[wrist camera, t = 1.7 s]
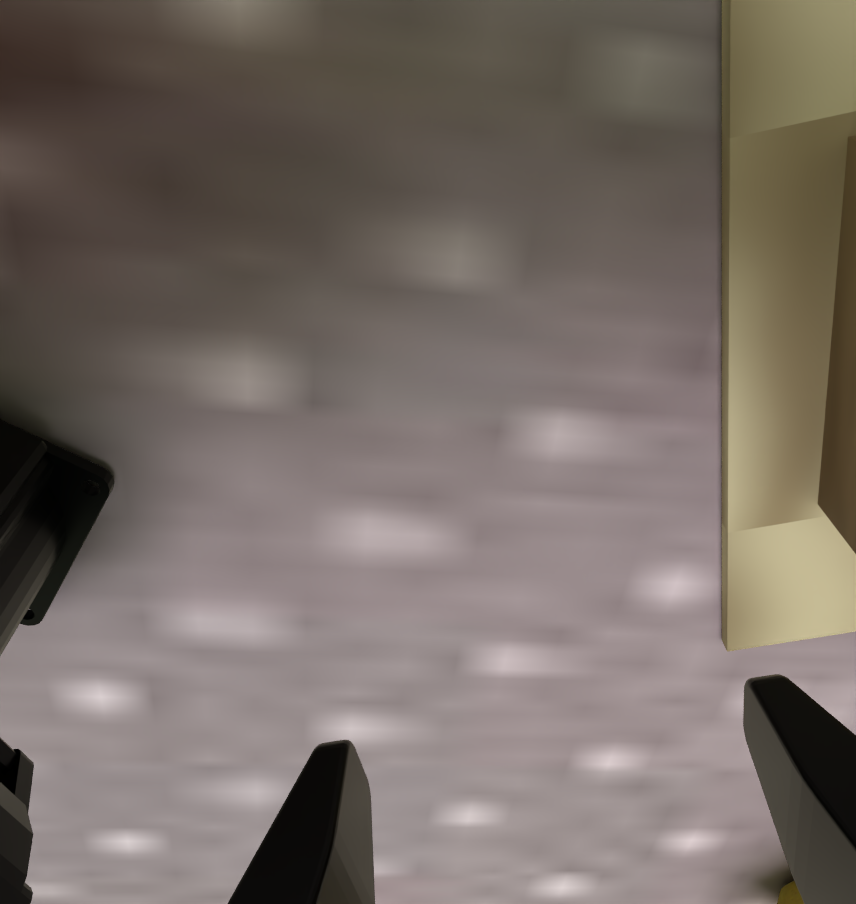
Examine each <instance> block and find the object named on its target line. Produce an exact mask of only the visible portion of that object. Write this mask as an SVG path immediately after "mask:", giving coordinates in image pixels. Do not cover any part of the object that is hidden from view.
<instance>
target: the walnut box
mask: <svg viewBox="0 0 856 904" xmlns="http://www.w3.org/2000/svg"><path fill="white" fill-rule="evenodd" d="M818 505H819V507H820V508H821V509H822V511H823V512H824V513H825V515H826V516H827V517H828V518H829V520H830V521H831V522H832V524H833V525H834V526H835V528H836V529H837V530H838V532H839V533H840V534H841V536H842V537H843V538H844V539H845V541H846V542H847V543H848V545H849V546H850V547H851V549H852V550H853V551H854V553H855V554H856V135H855V136H850V137H848V143H847V155H846V167H845V179H844V192H843V204H842V216H841V228H840V240H839V252H838V264H837V276H836V288H835V300H834V312H833V324H832V336H831V348H830V360H829V372H828V384H827V396H826V408H825V420H824V432H823V444H822V457H821V469H820V481H819V493H818Z"/></svg>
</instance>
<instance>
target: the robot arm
mask: <svg viewBox="0 0 856 904" xmlns="http://www.w3.org/2000/svg"><path fill="white" fill-rule="evenodd" d="M87 480H91V481H94V482H96V483H97V484H98V485H99V487H94V486H91V485H90V484H89V483H88V482H87ZM113 486H114V479H113V476H112V475H111V473H110V472H109V471H108V470H106V469H105V468H103V467H102V466H99V465H97V464H95V463H93V462H91V461H89V460H86V459H84V458H82V457H80V456H78V455H76V454H74V453H71V452H69V451H67V450H65V449H63V448H61V447H58V446H56V445H54V444H52V443H50V442H48V441H46V440H43V439H41V438H39V437H37V436H35V435H33V434H30V433H28V432H26V431H24V430H22V429H20V428H18V427H15V426H13V425H11V424H9V423H7V422H5V421H2V420H0V656H1V654H2V652H3V651H4V649H5V647H6V646H7V644H8V642H9V641H10V639H11V637H12V636H13V634H14V632H15V631H16V629H17V627H18V625H19V624H23V625H36V624H39V623H40V622H41V621H42V619H43V618H44V616H45V614H46V612H47V610H48V609H49V607H50V605H51V603H52V601H53V599H54V597H55V596H56V594H57V592H58V590H59V588H60V586H61V584H62V582H63V581H64V579H65V577H66V575H67V573H68V571H69V569H70V567H71V566H72V564H73V562H74V560H75V558H76V556H77V554H78V552H79V551H80V549H81V547H82V545H83V543H84V541H85V539H86V538H87V536H88V534H89V532H90V530H91V528H92V526H93V524H94V523H95V521H96V519H97V517H98V515H99V513H100V511H101V509H102V508H103V506H104V504H105V502H106V500H107V498H108V496H109V495H110V493H111V491H112V489H113ZM28 609H30V610H28ZM743 726H744V733H745V737H746V741H747V745H748V748H749V751H750V754H751V757H752V760H753V763H754V766H755V768H756V771H757V774H758V777H759V780H760V783H761V786H762V789H763V792H764V795H765V798H766V801H767V804H768V807H769V810H770V813H771V816H772V819H773V822H774V825H775V827H776V830H777V833H778V836H779V839H780V842H781V845H782V848H783V851H784V854H785V857H786V860H787V862H788V865H789V868H790V871H791V873H792V876H793V879H794V881H795V883H796V886H797V888H798V890H799V893H800V895H801V897H802V900H803V902H804V904H856V735H855V734H853V733H852V732H851V731H850V730H849V729H847V728H846V727H845V726H844V725H843V724H841V723H840V722H839V721H838V720H837V719H836V718H834V717H833V716H832V715H831V714H830V713H828V712H827V711H826V710H825V709H824V708H822V707H821V706H820V705H819V704H818V703H817V702H815V701H814V700H813V699H812V698H811V697H809V696H808V695H807V694H806V693H805V692H803V691H802V690H801V689H800V688H799V687H798V686H796V685H795V684H794V683H793V682H792V681H790V680H789V679H788V678H786V677H785V676H782V675H776V674H775V675H769V676H762V677H755V678H750V679H748V680H747V681H746V683H745V686H744V716H743ZM33 768H34V764H33V762H32V761H31V760H30V759H29V758H28V757H27V756H26V755H25V754H24V753H23V752H22V751H20V750H19V749H12V748H11V747H10V746H9V745H8V744H7V743H6V742H4V741H3V740H2V739H1V738H0V904H30V903H31V900H32V895H33V892H32V889H31V887H29V886H28V885H27V884H26V883H25V879H26V877H27V871H28V864H29V858H30V851H31V845H32V838H33V832H32V828H31V824H30V820H29V816H28V809H29V801H30V792H31V784H32V776H33ZM228 904H375V892H374V866H373V840H372V814H371V795H370V788H369V783H368V779H367V777H366V774H365V772H364V769H363V767H362V764H361V762H360V759H359V757H358V754H357V752H356V749H355V747H354V745H353V744H352V742H351V741H349V740H340V741H333V742H327V743H322V744H319V745H318V746H317V747H316V748H315V749H314V751H313V752H312V754H311V756H310V758H309V759H308V761H307V763H306V765H305V766H304V768H303V770H302V772H301V774H300V775H299V777H298V779H297V781H296V783H295V784H294V786H293V788H292V790H291V791H290V793H289V795H288V797H287V799H286V800H285V802H284V804H283V806H282V808H281V809H280V811H279V813H278V815H277V816H276V818H275V820H274V822H273V824H272V825H271V827H270V829H269V831H268V833H267V834H266V836H265V838H264V840H263V841H262V843H261V845H260V847H259V849H258V850H257V852H256V854H255V856H254V857H253V859H252V861H251V863H250V865H249V866H248V868H247V870H246V872H245V874H244V875H243V877H242V879H241V881H240V882H239V884H238V886H237V888H236V890H235V891H234V893H233V895H232V897H231V899H230V900H229V902H228Z"/></svg>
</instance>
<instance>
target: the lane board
mask: <svg viewBox="0 0 856 904" xmlns="http://www.w3.org/2000/svg"><path fill="white" fill-rule="evenodd" d="M855 135H856V0H722V641H723V643H724V646H725V648H726V650H727V651H734V650H740V649H746V648H753V647H759V646H766V645H772V644H778V643H785V642H791V641H798V640H804V639H810V638H817V637H823V636H830V635H836V634H842V633H849V632H855V631H856V554H855V553H854V551H853V550H852V549H851V547H850V546H849V545H848V543H847V542H846V541H845V539H844V538H843V537H842V536H841V534H840V533H839V532H838V530H837V529H836V528H835V526H834V525H833V524H832V522H831V521H830V520H829V518H828V517H827V516H826V515H825V513H824V512H823V511H822V509H821V508H820V507H819V505H818V493H819V481H820V469H821V457H822V444H823V432H824V420H825V408H826V396H827V384H828V372H829V360H830V348H831V336H832V324H833V312H834V300H835V288H836V276H837V264H838V252H839V240H840V228H841V216H842V204H843V192H844V179H845V167H846V155H847V143H848V137H850V136H855Z"/></svg>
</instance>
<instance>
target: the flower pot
mask: <svg viewBox="0 0 856 904" xmlns="http://www.w3.org/2000/svg"><path fill="white" fill-rule="evenodd" d="M777 904H804V902H803V900H802V897H801V895H800V893H799V890H798V888H797V886H796V883H795V881H792V882H790V883H789V884H787V885H785V886H784V887H783V888H782V889H781V891H780V894H779V898H778V903H777Z"/></svg>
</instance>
